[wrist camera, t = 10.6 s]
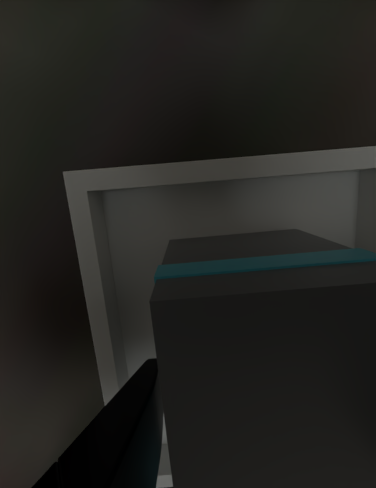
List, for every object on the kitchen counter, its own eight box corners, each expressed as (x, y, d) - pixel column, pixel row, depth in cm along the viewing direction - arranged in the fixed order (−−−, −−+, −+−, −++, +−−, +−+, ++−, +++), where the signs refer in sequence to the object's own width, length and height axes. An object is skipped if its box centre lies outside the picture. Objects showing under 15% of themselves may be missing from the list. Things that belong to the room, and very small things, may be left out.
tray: (366, 152, 9) (411, 143, 7) (347, 428, 11) (377, 472, 10) (87, 175, 9) (62, 171, 7) (129, 444, 11) (119, 490, 10)
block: (297, 227, 9) (440, 274, 4) (296, 396, 10) (397, 585, 5) (167, 238, 9) (145, 298, 4) (185, 405, 10) (185, 601, 5)
